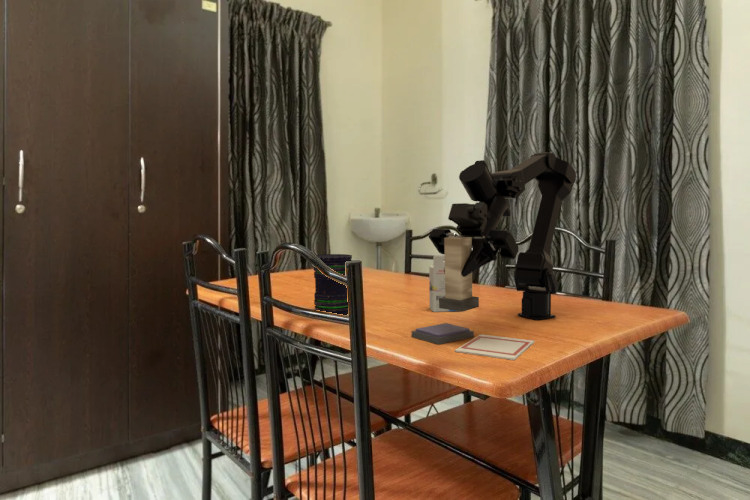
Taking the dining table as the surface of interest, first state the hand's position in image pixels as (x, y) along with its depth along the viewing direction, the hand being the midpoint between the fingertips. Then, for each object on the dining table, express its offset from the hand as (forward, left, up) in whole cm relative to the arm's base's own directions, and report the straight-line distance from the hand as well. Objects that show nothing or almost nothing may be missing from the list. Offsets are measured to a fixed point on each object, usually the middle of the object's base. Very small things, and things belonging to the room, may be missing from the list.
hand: (454, 274), depth 99 cm
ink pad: (0, -4, -13) cm, 14 cm away
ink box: (-18, -28, -14) cm, 36 cm away
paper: (-5, +7, -13) cm, 16 cm away
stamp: (-2, -1, -7) cm, 7 cm away
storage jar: (+10, -38, -14) cm, 42 cm away
